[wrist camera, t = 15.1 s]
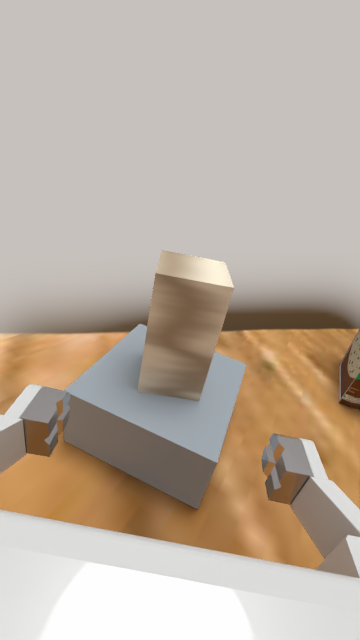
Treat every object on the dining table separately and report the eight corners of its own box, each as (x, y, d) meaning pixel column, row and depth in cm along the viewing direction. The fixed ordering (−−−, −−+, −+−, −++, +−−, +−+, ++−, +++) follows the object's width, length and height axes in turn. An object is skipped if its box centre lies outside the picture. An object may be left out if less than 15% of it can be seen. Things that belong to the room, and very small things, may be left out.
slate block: (230, 406, 32) (246, 364, 29) (196, 512, 22) (217, 462, 19) (133, 366, 34) (140, 323, 31) (64, 443, 24) (63, 390, 21)
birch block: (197, 362, 27) (225, 262, 23) (199, 401, 23) (234, 287, 18) (145, 353, 27) (161, 250, 22) (137, 391, 23) (155, 273, 18)
